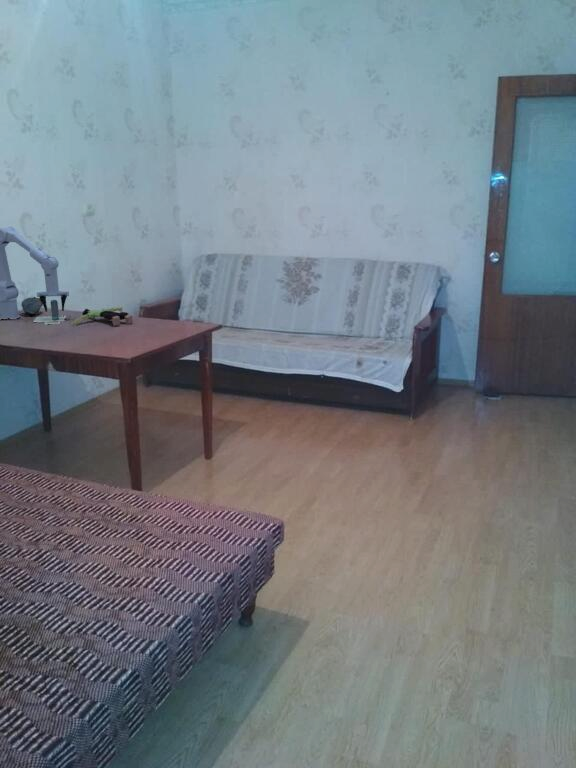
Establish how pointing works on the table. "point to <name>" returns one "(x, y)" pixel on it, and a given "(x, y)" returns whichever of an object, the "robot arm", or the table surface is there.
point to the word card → (51, 323)
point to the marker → (54, 310)
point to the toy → (106, 315)
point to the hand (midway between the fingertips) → (54, 311)
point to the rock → (31, 305)
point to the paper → (48, 319)
